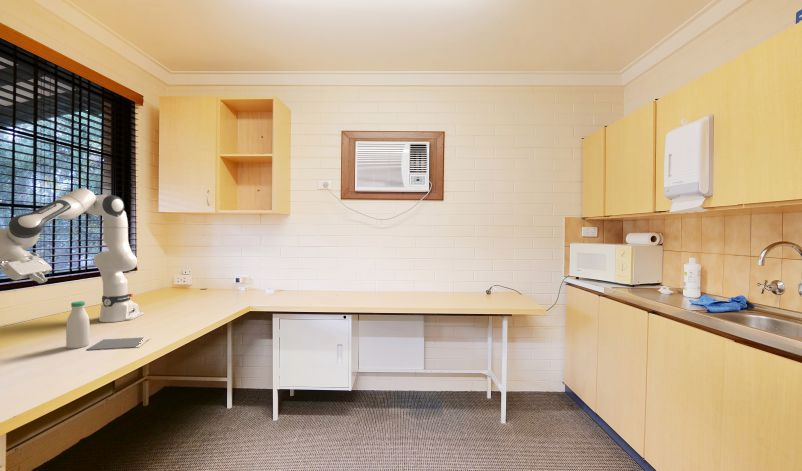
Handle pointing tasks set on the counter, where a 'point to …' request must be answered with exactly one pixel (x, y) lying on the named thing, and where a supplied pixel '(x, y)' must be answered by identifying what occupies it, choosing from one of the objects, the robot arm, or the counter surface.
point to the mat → (116, 343)
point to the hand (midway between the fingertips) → (44, 281)
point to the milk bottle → (77, 326)
